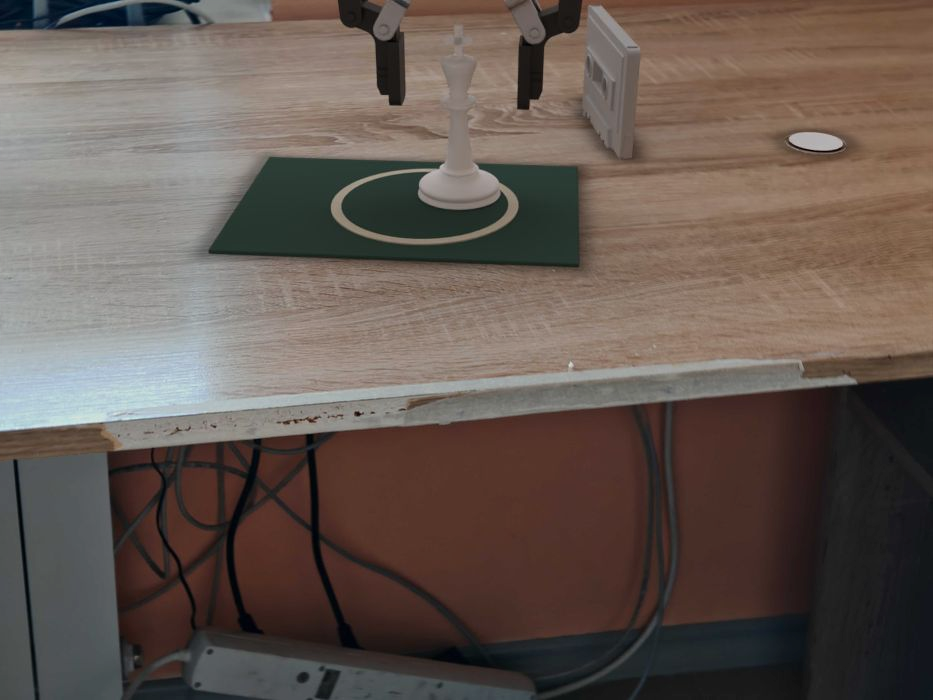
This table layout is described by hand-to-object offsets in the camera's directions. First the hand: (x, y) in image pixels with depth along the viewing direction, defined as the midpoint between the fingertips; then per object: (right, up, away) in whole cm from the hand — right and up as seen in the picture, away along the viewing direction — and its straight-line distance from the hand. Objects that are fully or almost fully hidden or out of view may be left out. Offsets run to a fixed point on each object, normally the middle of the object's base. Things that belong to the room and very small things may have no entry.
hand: (460, 103), depth 62 cm
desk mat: (-3, -6, +2) cm, 7 cm away
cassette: (+10, +1, +14) cm, 18 cm away
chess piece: (0, -5, +3) cm, 6 cm away
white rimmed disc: (+24, -1, +12) cm, 27 cm away
